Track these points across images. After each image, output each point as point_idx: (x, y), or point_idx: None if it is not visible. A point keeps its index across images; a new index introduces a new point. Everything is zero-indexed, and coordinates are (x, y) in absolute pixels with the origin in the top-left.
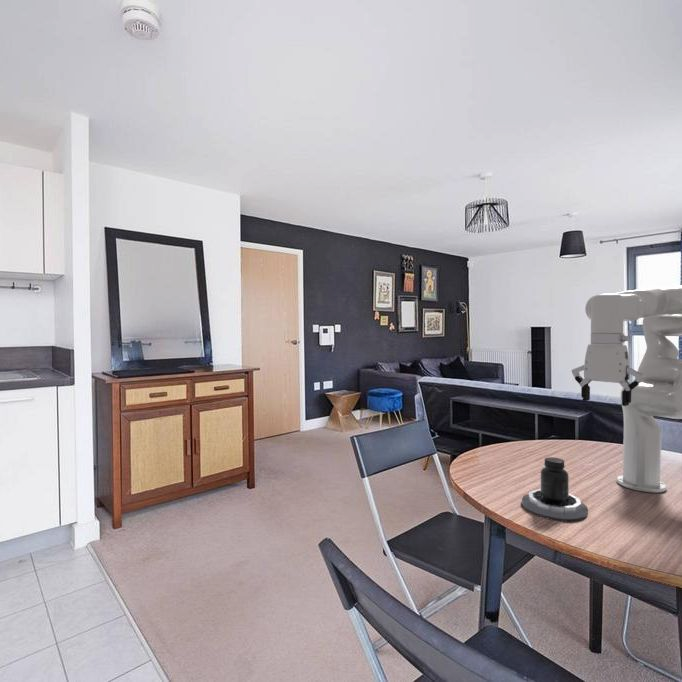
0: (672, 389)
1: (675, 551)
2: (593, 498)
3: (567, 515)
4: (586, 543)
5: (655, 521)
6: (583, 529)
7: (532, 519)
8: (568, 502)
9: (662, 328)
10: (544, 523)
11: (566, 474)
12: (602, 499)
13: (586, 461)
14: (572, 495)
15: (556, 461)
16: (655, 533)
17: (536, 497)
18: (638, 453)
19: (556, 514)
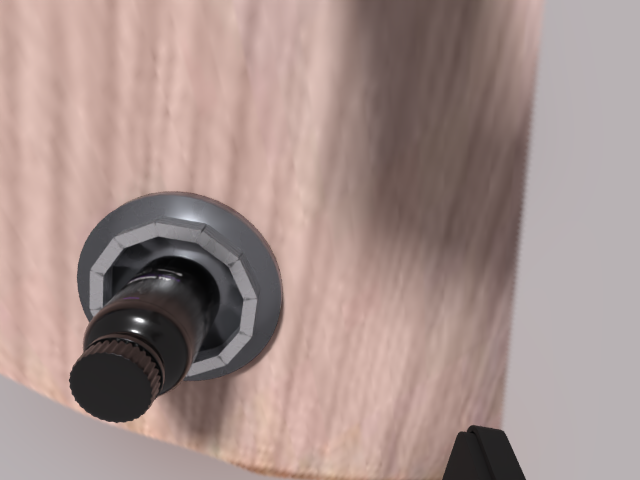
0: None
1: (504, 372)
2: (261, 105)
3: (240, 357)
4: (317, 447)
5: (466, 198)
6: (294, 380)
7: (168, 398)
8: (218, 292)
9: None
10: (202, 403)
11: (184, 366)
12: (291, 93)
13: None
14: (212, 242)
15: (128, 407)
16: (463, 293)
17: (114, 277)
18: None
19: (214, 369)
